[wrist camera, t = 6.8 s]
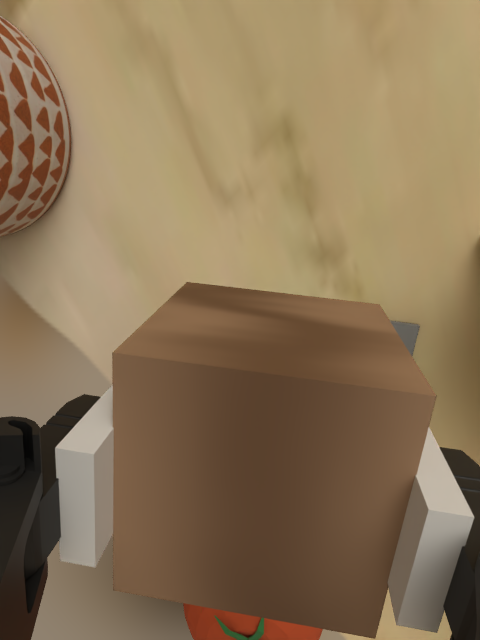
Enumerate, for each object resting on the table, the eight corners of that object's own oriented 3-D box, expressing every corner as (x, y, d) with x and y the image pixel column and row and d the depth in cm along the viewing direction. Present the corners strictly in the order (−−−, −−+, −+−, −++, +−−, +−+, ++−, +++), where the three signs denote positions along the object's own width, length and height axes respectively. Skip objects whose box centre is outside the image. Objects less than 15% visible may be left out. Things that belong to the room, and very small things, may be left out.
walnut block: (179, 444, 16) (113, 590, 10) (187, 282, 14) (112, 352, 9) (347, 469, 16) (375, 638, 10) (379, 304, 14) (436, 396, 8)
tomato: (329, 589, 37) (340, 732, 28) (209, 589, 39) (180, 724, 29) (317, 486, 34) (324, 607, 25) (187, 491, 36) (147, 607, 26)
